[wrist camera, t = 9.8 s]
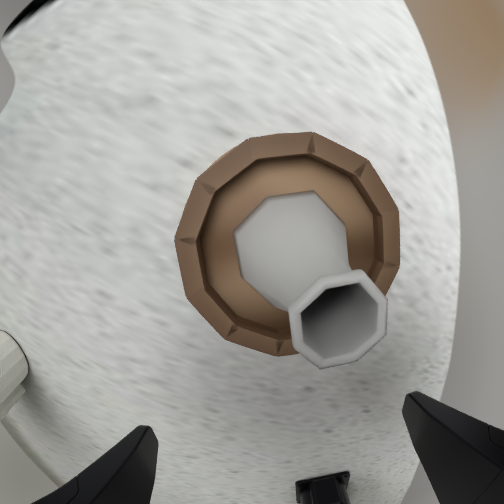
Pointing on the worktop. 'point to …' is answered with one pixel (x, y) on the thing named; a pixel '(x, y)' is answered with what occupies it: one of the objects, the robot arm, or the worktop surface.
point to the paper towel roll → (10, 373)
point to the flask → (311, 277)
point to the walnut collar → (248, 198)
